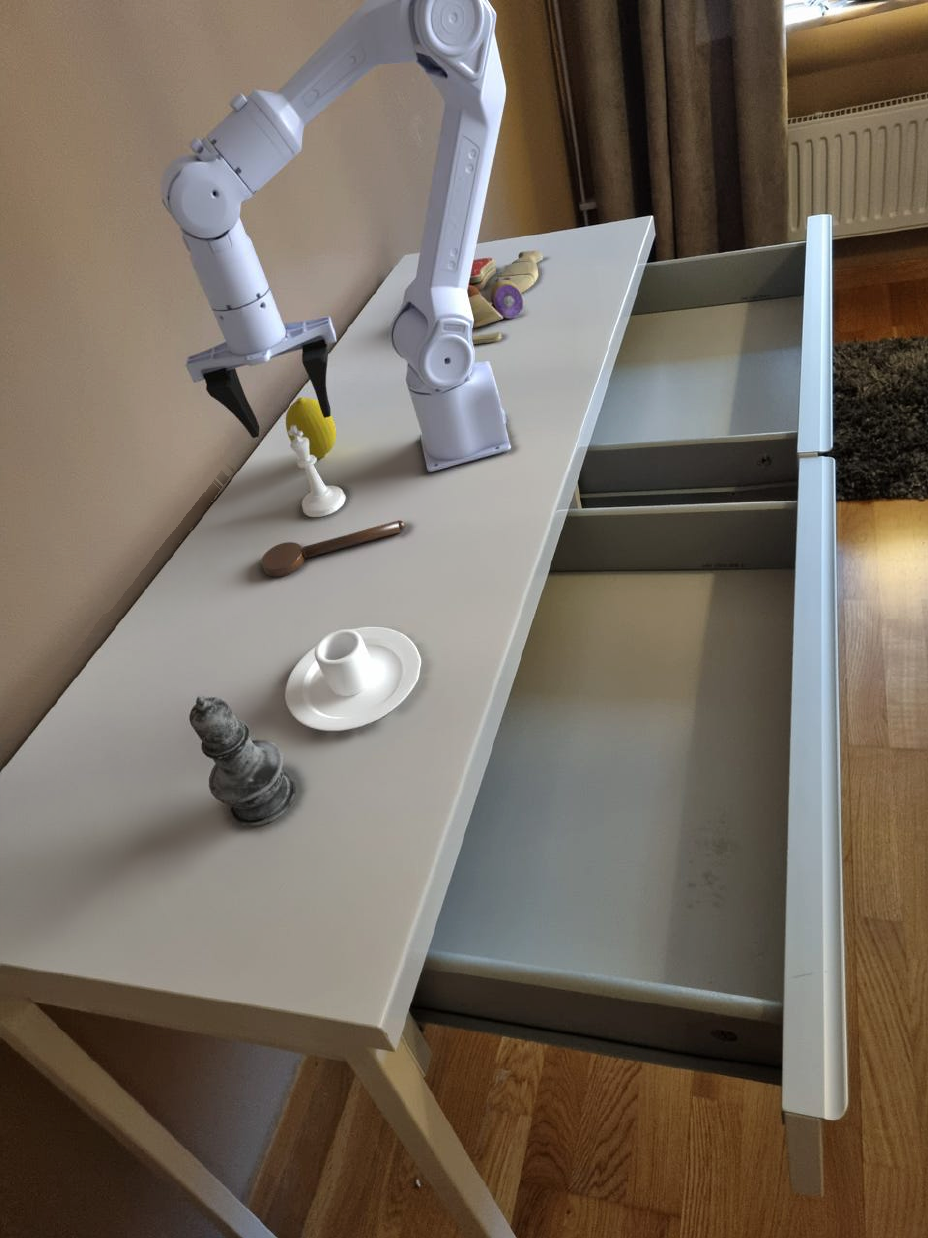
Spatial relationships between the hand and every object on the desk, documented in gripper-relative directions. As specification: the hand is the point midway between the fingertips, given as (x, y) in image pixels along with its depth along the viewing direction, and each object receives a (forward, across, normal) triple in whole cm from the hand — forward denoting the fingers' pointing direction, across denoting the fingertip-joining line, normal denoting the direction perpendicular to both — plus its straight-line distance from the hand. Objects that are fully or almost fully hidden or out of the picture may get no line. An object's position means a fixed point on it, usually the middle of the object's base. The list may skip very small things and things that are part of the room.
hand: (291, 422), depth 91 cm
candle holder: (+11, +2, -29) cm, 31 cm away
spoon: (+10, 0, -9) cm, 14 cm away
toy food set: (+11, +24, +41) cm, 49 cm away
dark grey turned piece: (+11, -6, -39) cm, 41 cm away
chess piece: (+11, 0, 0) cm, 11 cm away
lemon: (+11, 0, +10) cm, 15 cm away
